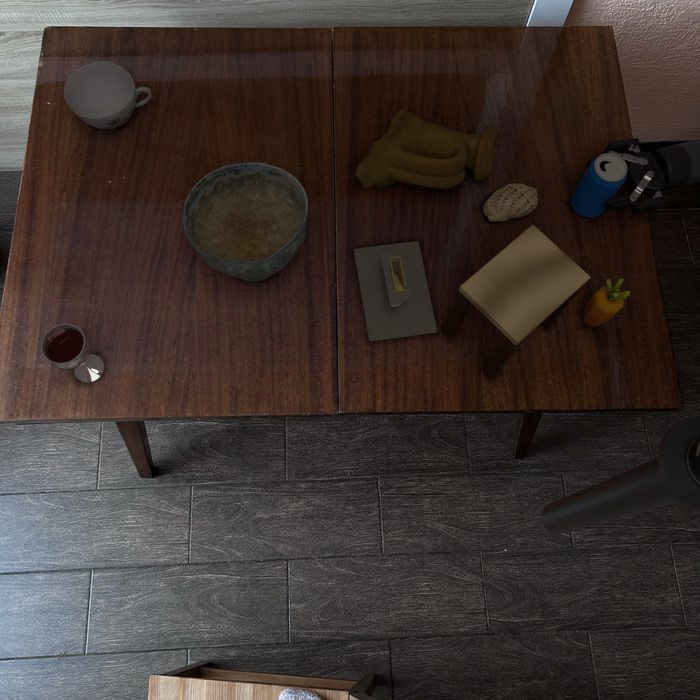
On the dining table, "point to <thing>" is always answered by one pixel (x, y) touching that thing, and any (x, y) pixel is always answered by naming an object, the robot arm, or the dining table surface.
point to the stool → (519, 292)
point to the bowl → (246, 219)
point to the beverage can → (599, 185)
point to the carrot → (604, 304)
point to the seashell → (510, 202)
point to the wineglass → (71, 352)
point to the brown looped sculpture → (426, 154)
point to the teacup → (103, 94)
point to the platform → (394, 291)
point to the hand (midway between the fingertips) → (596, 185)
